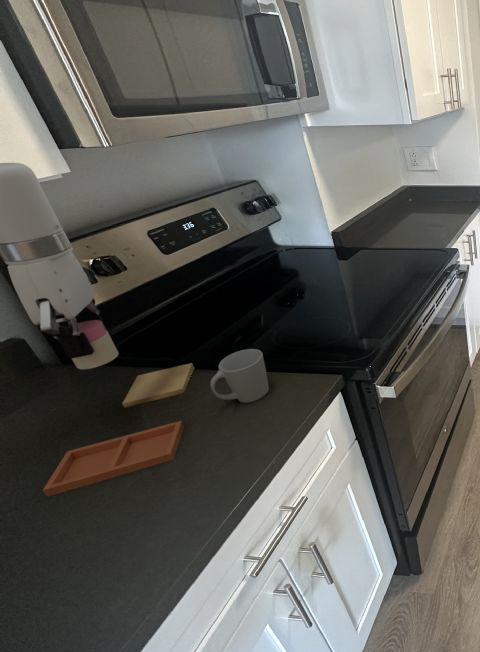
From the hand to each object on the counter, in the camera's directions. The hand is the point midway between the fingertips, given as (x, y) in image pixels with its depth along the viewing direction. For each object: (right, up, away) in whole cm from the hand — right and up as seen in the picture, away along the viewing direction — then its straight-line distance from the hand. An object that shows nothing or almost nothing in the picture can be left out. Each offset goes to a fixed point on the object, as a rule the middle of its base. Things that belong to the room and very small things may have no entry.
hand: (90, 345), depth 74 cm
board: (-2, -11, +17) cm, 20 cm away
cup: (+19, -13, +13) cm, 26 cm away
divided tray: (+6, -20, -1) cm, 21 cm away
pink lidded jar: (0, -3, +1) cm, 3 cm away
